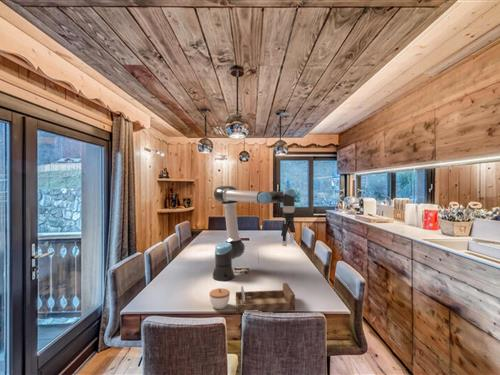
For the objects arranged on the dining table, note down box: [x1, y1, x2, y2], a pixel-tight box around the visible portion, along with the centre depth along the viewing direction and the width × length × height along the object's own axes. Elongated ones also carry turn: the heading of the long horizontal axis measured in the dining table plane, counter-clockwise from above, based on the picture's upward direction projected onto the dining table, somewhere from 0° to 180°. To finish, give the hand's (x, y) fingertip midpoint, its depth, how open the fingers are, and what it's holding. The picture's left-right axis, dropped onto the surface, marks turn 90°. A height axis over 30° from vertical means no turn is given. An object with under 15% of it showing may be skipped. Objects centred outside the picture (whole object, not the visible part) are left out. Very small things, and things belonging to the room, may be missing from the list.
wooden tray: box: [235, 282, 296, 314], centre depth 142 cm, size 30×16×8 cm, turn 96°
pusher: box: [240, 286, 251, 304], centre depth 141 cm, size 5×13×7 cm, turn 6°
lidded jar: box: [209, 287, 231, 310], centre depth 139 cm, size 11×11×9 cm
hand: (288, 244), depth 172 cm, fingers open, 13 cm apart
